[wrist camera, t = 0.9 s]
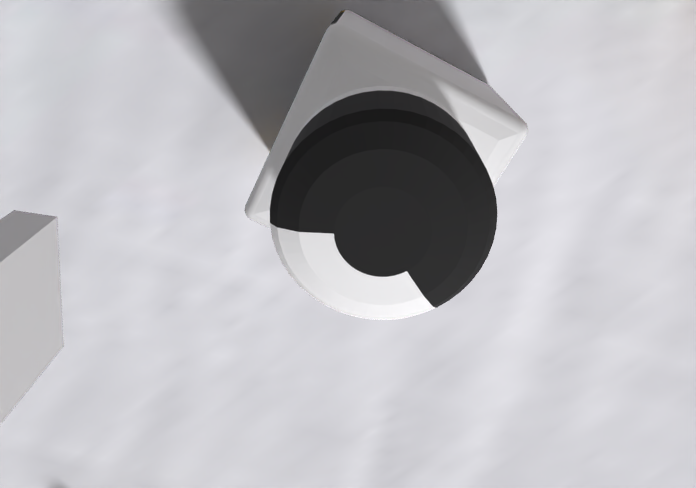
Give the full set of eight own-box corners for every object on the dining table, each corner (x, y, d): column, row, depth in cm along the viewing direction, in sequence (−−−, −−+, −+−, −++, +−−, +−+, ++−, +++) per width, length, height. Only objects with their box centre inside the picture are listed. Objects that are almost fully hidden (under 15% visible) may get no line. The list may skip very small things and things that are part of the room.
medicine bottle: (342, 5, 25) (316, 35, 14) (495, 87, 26) (582, 176, 15) (271, 159, 28) (202, 285, 17) (412, 227, 29) (434, 388, 18)
